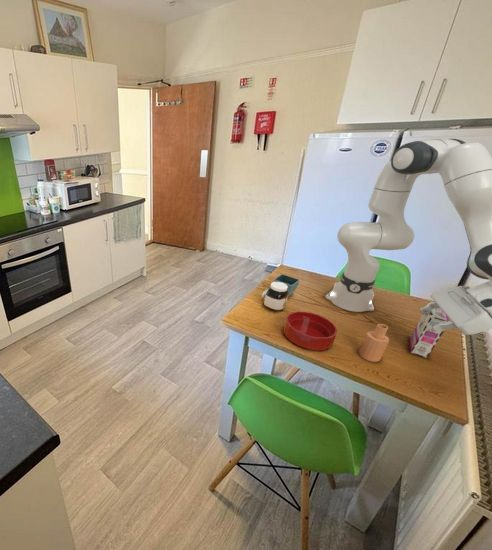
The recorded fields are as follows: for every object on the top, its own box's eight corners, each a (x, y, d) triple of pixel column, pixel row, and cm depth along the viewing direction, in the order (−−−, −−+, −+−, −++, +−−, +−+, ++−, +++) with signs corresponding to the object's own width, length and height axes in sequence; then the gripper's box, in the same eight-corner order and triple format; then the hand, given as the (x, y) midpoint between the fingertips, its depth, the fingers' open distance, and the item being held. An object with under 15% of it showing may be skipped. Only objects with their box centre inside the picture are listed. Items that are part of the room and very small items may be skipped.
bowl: (289, 319, 129) (292, 306, 126) (335, 334, 119) (340, 321, 116) (277, 339, 117) (281, 326, 114) (328, 358, 108) (333, 344, 105)
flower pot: (278, 289, 152) (281, 273, 148) (296, 295, 146) (300, 279, 142) (270, 295, 147) (273, 279, 143) (288, 302, 141) (292, 285, 137)
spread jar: (276, 314, 132) (281, 292, 127) (253, 303, 140) (257, 282, 135) (289, 305, 138) (295, 283, 133) (267, 295, 147) (272, 274, 141)
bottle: (359, 347, 112) (372, 318, 106) (380, 354, 109) (394, 325, 102) (358, 356, 108) (371, 327, 102) (379, 364, 104) (394, 334, 98)
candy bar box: (428, 359, 106) (450, 322, 98) (410, 353, 109) (430, 316, 101) (426, 342, 113) (447, 307, 106) (409, 337, 116) (428, 302, 109)
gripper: (460, 277, 96) (409, 296, 104) (498, 310, 79) (435, 330, 88) (471, 291, 96) (420, 310, 104) (512, 327, 80) (447, 346, 88)
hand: (427, 319), depth 96 cm, fingers open, 8 cm apart
